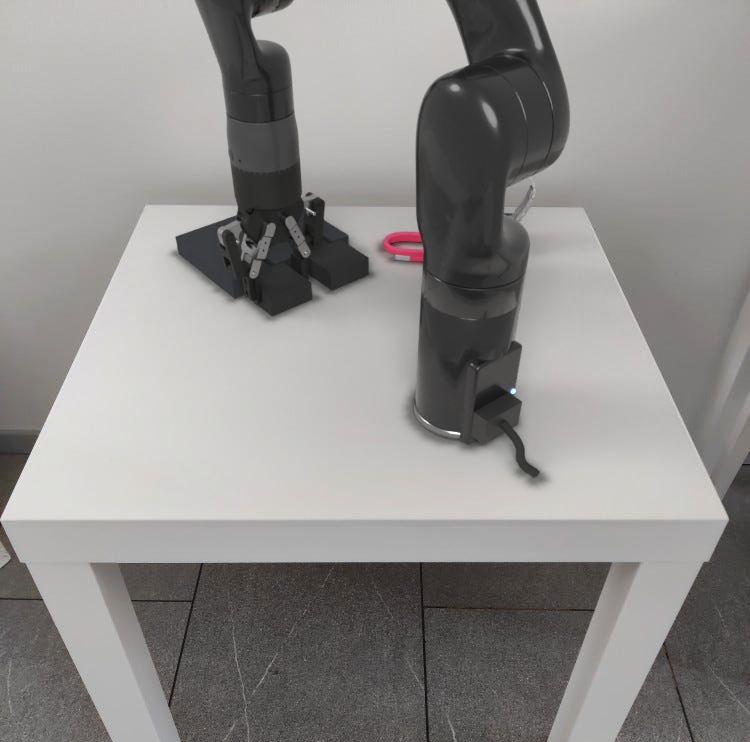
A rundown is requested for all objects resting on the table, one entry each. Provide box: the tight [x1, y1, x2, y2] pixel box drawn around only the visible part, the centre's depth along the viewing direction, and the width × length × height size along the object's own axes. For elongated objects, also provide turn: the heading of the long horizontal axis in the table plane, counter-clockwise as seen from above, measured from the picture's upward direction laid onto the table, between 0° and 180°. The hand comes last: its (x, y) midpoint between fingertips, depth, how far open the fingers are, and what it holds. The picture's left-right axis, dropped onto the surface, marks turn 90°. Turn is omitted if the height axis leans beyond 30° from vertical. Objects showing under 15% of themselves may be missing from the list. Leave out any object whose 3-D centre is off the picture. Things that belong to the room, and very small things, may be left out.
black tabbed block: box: [308, 239, 370, 291], centre depth 99 cm, size 8×6×2 cm
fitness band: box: [382, 231, 423, 262], centre depth 102 cm, size 8×6×2 cm
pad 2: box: [244, 261, 313, 318], centre depth 95 cm, size 8×6×2 cm
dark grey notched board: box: [175, 212, 350, 299], centre depth 101 cm, size 14×18×2 cm
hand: (278, 291), depth 94 cm, fingers closed on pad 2, 6 cm apart
